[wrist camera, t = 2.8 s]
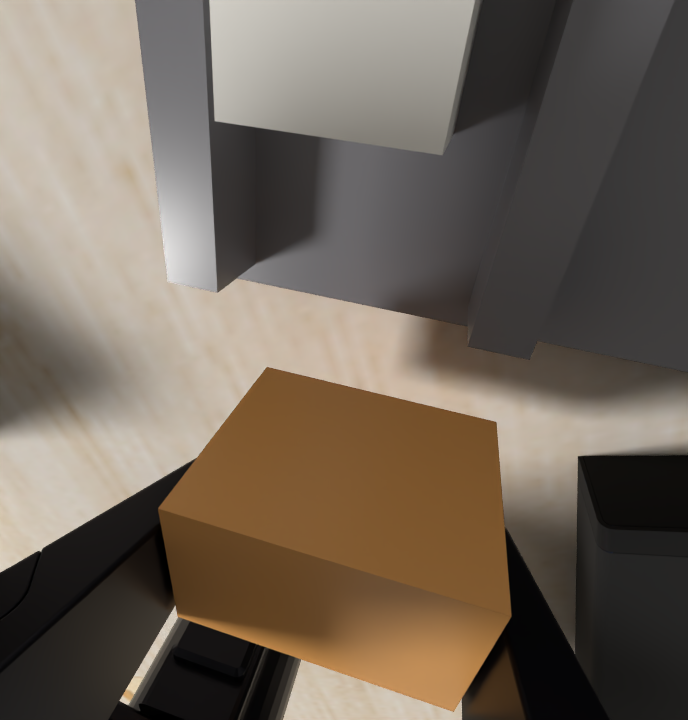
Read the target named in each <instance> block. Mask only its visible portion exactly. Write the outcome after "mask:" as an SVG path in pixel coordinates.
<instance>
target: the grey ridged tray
mask: <svg viewBox="0 0 688 720" xmlns="http://www.w3.org/2000/svg"><path fill="white" fill-rule="evenodd" d="M135 3H136V12H137V21H138V29H139V38H140V47H141V55H142V64H143V73H144V81H145V90H146V99H147V107H148V116H149V125H150V133H151V142H152V151H153V159H154V168H155V177H156V185H157V194H158V203H159V211H160V220H161V229H162V237H163V246H164V255H165V263H166V272H167V281H168V282H170V283H175V284H179V285H184V286H189V287H193V288H198V289H203V290H207V291H212V292H217V293H218V292H219V291H220V290H222V289H223V288H224V287H226V286H227V285H228V284H230V283H231V282H232V281H234V280H235V279H236V278H237V279H242V280H247V281H252V282H257V283H261V284H266V285H271V286H276V287H281V288H285V289H290V290H295V291H300V292H305V293H309V294H314V295H319V296H324V297H329V298H333V299H338V300H343V301H348V302H353V303H358V304H362V305H367V306H372V307H377V308H382V309H386V310H391V311H396V312H401V313H406V314H410V315H415V316H420V317H425V318H430V319H434V320H439V321H444V322H449V323H454V324H458V325H463V326H468V346H467V347H472V348H477V349H481V350H486V351H491V352H495V353H500V354H505V355H509V356H514V357H519V358H523V359H528V360H530V358H531V355H532V353H533V350H534V348H535V345H536V343H537V341H540V342H545V343H550V344H554V345H559V346H564V347H569V348H574V349H578V350H583V351H588V352H593V353H598V354H602V355H607V356H612V357H617V358H622V359H626V360H631V361H636V362H641V363H646V364H650V365H655V366H660V367H665V368H670V369H674V370H679V371H684V372H688V0H483V2H482V6H481V11H480V15H479V20H478V24H477V29H476V34H475V38H474V43H473V47H472V52H471V57H470V61H469V66H468V70H467V75H466V79H465V84H464V89H463V93H462V98H461V102H460V107H459V111H458V116H457V121H456V125H455V130H454V134H453V136H452V138H451V140H450V142H449V144H448V146H447V147H446V149H445V151H444V153H443V155H437V154H430V153H424V152H417V151H410V150H404V149H397V148H390V147H384V146H377V145H371V144H364V143H357V142H351V141H344V140H337V139H331V138H324V137H317V136H311V135H304V134H297V133H291V132H284V131H277V130H271V129H264V128H257V127H251V126H244V125H237V124H231V123H224V122H217V121H215V118H214V95H213V72H212V50H211V27H210V4H209V0H135Z"/></svg>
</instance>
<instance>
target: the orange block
mask: <svg viewBox="0 0 688 720" xmlns="http://www.w3.org/2000/svg"><path fill="white" fill-rule="evenodd" d="M158 512H159V517H160V523H161V528H162V534H163V539H164V544H165V550H166V555H167V561H168V566H169V572H170V577H171V583H172V588H173V594H174V599H175V605H176V610H177V615H178V617H180V618H183V619H186V620H189V621H191V622H194V623H197V624H200V625H203V626H206V627H209V628H212V629H215V630H218V631H220V632H223V633H226V634H229V635H232V636H235V637H238V638H241V639H244V640H247V641H249V642H252V643H255V644H258V645H261V646H264V647H267V648H270V649H273V650H276V651H279V652H281V653H284V654H287V655H290V656H293V657H296V658H299V659H302V660H305V661H308V662H310V663H313V664H316V665H319V666H322V667H325V668H328V669H331V670H334V671H337V672H339V673H342V674H345V675H348V676H351V677H354V678H357V679H360V680H363V681H366V682H369V683H371V684H374V685H377V686H380V687H383V688H386V689H389V690H392V691H395V692H398V693H400V694H403V695H406V696H409V697H412V698H415V699H418V700H421V701H424V702H427V703H429V704H432V705H435V706H438V707H441V708H444V709H447V710H450V711H453V712H454V710H455V709H456V707H457V705H458V704H459V702H460V700H461V699H462V697H463V696H464V694H465V692H466V691H467V689H468V687H469V686H470V684H471V682H472V681H473V679H474V677H475V676H476V674H477V673H478V671H479V669H480V668H481V666H482V664H483V663H484V661H485V659H486V658H487V656H488V654H489V653H490V651H491V649H492V648H493V646H494V645H495V643H496V641H497V640H498V638H499V636H500V635H501V633H502V631H503V630H504V628H505V626H506V625H507V623H508V621H509V620H510V618H511V617H512V616H511V603H510V590H509V577H508V565H507V552H506V539H505V526H504V513H503V501H502V488H501V475H500V462H499V450H498V437H497V424H496V422H494V421H490V420H486V419H481V418H477V417H473V416H469V415H465V414H461V413H456V412H452V411H448V410H444V409H440V408H436V407H431V406H427V405H423V404H419V403H415V402H411V401H406V400H402V399H398V398H394V397H390V396H386V395H381V394H377V393H373V392H369V391H365V390H361V389H356V388H352V387H348V386H344V385H340V384H336V383H331V382H327V381H323V380H319V379H315V378H311V377H306V376H302V375H298V374H294V373H290V372H286V371H281V370H277V369H273V368H269V367H267V368H266V369H265V370H264V371H263V373H262V374H261V375H260V377H259V378H258V379H257V381H256V382H255V383H254V384H253V386H252V387H251V388H250V390H249V391H248V392H247V393H246V395H245V396H244V397H243V399H242V400H241V401H240V403H239V404H238V405H237V406H236V408H235V409H234V410H233V412H232V413H231V414H230V416H229V417H228V418H227V419H226V421H225V422H224V423H223V425H222V426H221V427H220V429H219V430H218V431H217V432H216V434H215V435H214V436H213V438H212V439H211V440H210V442H209V443H208V444H207V445H206V447H205V448H204V449H203V451H202V452H201V453H200V455H199V456H198V457H197V458H196V460H195V461H194V462H193V464H192V465H191V466H190V468H189V469H188V470H187V471H186V473H185V474H184V475H183V477H182V478H181V479H180V481H179V482H178V483H177V484H176V486H175V487H174V488H173V490H172V491H171V492H170V493H169V495H168V496H167V497H166V499H165V500H164V501H163V503H162V504H161V505H160V506H159V508H158Z"/></svg>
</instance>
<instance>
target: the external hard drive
mask: <svg viewBox="0 0 688 720" xmlns="http://www.w3.org/2000/svg"><path fill="white" fill-rule="evenodd" d="M575 655H576V657H577V659H578V661H579V663H580V665H581V667H582V668H583V670H584V672H585V674H586V676H587V678H588V679H589V681H590V683H591V685H592V687H593V689H594V690H595V692H596V694H597V696H598V698H599V700H600V702H601V703H602V705H603V707H604V709H605V711H606V713H607V714H608V716H609V718H610V720H688V455H669V456H583V457H582V456H578V494H577V564H576V633H575Z"/></svg>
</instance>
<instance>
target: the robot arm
mask: <svg viewBox="0 0 688 720" xmlns="http://www.w3.org/2000/svg"><path fill="white" fill-rule="evenodd" d="M195 460H196V459H194V460H192V461H190V462H189V463H187V464H185V465H184V466H182V467H180V468H179V469H177V470H175V471H173V472H172V473H170V474H168V475H167V476H165V477H163V478H162V479H160V480H158V481H156V482H155V483H153V484H151V485H150V486H148V487H146V488H144V489H143V490H141V491H139V492H138V493H136V494H134V495H133V496H131V497H129V498H127V499H126V500H124V501H122V502H121V503H119V504H117V505H116V506H114V507H112V508H110V509H109V510H107V511H105V512H104V513H102V514H100V515H99V516H97V517H95V518H93V519H92V520H90V521H88V522H87V523H85V524H83V525H82V526H80V527H78V528H76V529H75V530H73V531H71V532H70V533H68V534H66V535H64V536H63V537H61V538H59V539H58V540H56V541H54V542H53V543H51V544H49V545H47V546H46V547H44V548H43V549H42V551H41V552H40V551H37V552H35V553H34V554H32V555H30V556H28V557H27V558H25V559H23V560H22V561H20V562H18V563H17V564H15V565H13V566H11V567H10V568H8V569H6V570H4V571H2V572H1V573H0V720H283V717H284V714H285V711H286V708H287V704H288V701H289V698H290V694H291V691H292V688H293V685H294V681H295V678H296V675H297V671H298V668H299V665H300V662H301V659H299V658H296V657H293V656H290V655H287V654H284V653H281V652H279V651H276V650H273V649H270V648H267V647H264V646H261V645H258V644H255V643H252V642H249V641H247V640H244V639H241V638H238V637H235V636H232V635H229V634H226V633H223V632H220V631H218V630H215V629H212V628H209V627H206V626H203V625H200V624H197V623H194V622H191V621H189V620H186V619H183V618H180V617H178V619H177V620H176V622H175V624H174V626H173V627H172V629H171V631H170V633H169V635H168V636H167V638H166V640H165V642H164V643H163V645H162V647H161V649H160V650H159V652H158V654H157V656H156V657H155V659H154V661H153V663H152V664H151V666H150V668H149V670H148V671H147V673H146V675H145V677H144V679H143V680H142V682H141V684H140V686H139V687H138V689H137V691H136V693H135V694H134V696H133V698H132V700H131V701H130V703H129V705H126V704H124V703H122V702H120V701H119V700H120V699H121V697H122V695H123V693H124V692H125V690H126V688H127V687H128V685H129V683H130V682H131V680H132V678H133V676H134V675H135V673H136V671H137V670H138V668H139V666H140V664H141V663H142V661H143V659H144V658H145V656H146V654H147V653H148V651H149V649H150V647H151V646H152V644H153V642H154V641H155V639H156V637H157V635H158V634H159V632H160V630H161V629H162V627H163V625H164V624H165V622H166V620H167V618H168V617H169V615H170V613H171V612H172V610H173V608H174V607H175V599H174V594H173V588H172V583H171V577H170V572H169V566H168V561H167V555H166V550H165V544H164V539H163V534H162V528H161V523H160V517H159V512H158V508H159V506H160V505H161V504H162V503H163V501H164V500H165V499H166V497H167V496H168V495H169V493H170V492H171V491H172V490H173V488H174V487H175V486H176V484H177V483H178V482H179V481H180V479H181V478H182V477H183V475H184V474H185V473H186V471H187V470H188V469H189V468H190V466H191V465H192V464H193V462H194V461H195ZM505 539H506V552H507V565H508V577H509V590H510V603H511V616H512V617H511V618H510V620H509V621H508V623H507V625H506V626H505V628H504V630H503V631H502V633H501V635H500V636H499V638H498V640H497V641H496V643H495V645H494V646H493V648H492V649H491V651H490V653H489V654H488V656H487V658H486V659H485V661H484V663H483V664H482V666H481V668H480V669H479V671H478V673H477V674H476V676H475V677H474V679H473V681H472V682H471V684H470V686H469V687H468V689H467V691H466V692H465V694H464V696H463V697H462V720H610V718H609V716H608V714H607V713H606V711H605V709H604V707H603V705H602V703H601V702H600V700H599V698H598V696H597V694H596V692H595V690H594V689H593V687H592V685H591V683H590V681H589V679H588V678H587V676H586V674H585V672H584V670H583V668H582V667H581V665H580V663H579V661H578V659H577V657H576V655H575V654H574V652H573V650H572V648H571V646H570V644H569V643H568V641H567V639H566V637H565V635H564V633H563V632H562V630H561V628H560V626H559V624H558V622H557V620H556V619H555V617H554V615H553V613H552V611H551V609H550V608H549V606H548V604H547V602H546V600H545V598H544V597H543V595H542V593H541V591H540V589H539V587H538V585H537V584H536V582H535V580H534V578H533V576H532V574H531V573H530V571H529V569H528V567H527V565H526V563H525V562H524V560H523V558H522V556H521V554H520V552H519V550H518V549H517V547H516V545H515V543H514V541H513V539H512V538H511V536H510V534H509V532H508V530H507V529H506V527H505Z"/></svg>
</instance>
